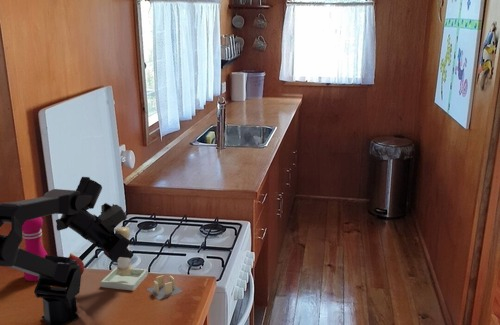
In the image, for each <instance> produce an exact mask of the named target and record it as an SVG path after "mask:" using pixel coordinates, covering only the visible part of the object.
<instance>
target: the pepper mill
mask: <svg viewBox="0 0 500 325" xmlns="http://www.w3.org/2000/svg"><path fill="white" fill-rule="evenodd" d="M43 224H44V219H43V217H39V218H35V219H31V220H27V221H25V222H24V224H23V226H22V237H23V239H24V243H25V244H24V246H25V248H24V250H25V251H28V252H30V253H33V254H35V255H38V256H41V257H43V258H45V255H48V253H47V251H46V249H45V248H44V246H43V244H42V240H41V236H43V232H42V231H43V230H42V228H43ZM23 278H24V280H25V281H29V282H38V276H35V275H32V274H29V273H25V272H23Z"/></svg>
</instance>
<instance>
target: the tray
mask: <svg viewBox="0 0 500 325" xmlns="http://www.w3.org/2000/svg"><path fill="white" fill-rule="evenodd" d="M148 276H149V270H148V269H145V268H143V269H142V268H133V267H131V274H130V275H127V276H119V275H118V271H117V266H116V267H114V269H113V270H112V271H111V272H109V273H108V274H107V275H106V276H105V277H104V278H103V279H102V280H101V281H100V287H101V288H106V289H107V288H108V289H115V290H116V289H117V290H124V291H125V290H126V291H133V292H134V291H135V290H136V289H137V288H138V287H139V286H140V285H141V283H142V282H143V281H144V280H145V279H146V278H147V277H148Z"/></svg>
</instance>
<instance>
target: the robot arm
mask: <svg viewBox="0 0 500 325" xmlns="http://www.w3.org/2000/svg"><path fill="white" fill-rule="evenodd" d="M102 190H103V186H102V184H100V182H99V183H98V182H97V181H95V180H93V179H91V178H90V177H89V176H81V178H80V180H79V183H78V185H77V187H76V189H75V190H71V189H62V188H61V189H58V188H53V189H51V190H49V191H47V192H45V193H44V195H43V196H39V197H35V198H28V199H23V200H18V201H11V202H7V201H6V202H5V201H4V202H2V203H0V228H1V227H2V226H3V225H4V223H5V224H11V229H10V231H9V233H8V235H6V234H5V235H4V234H0V267H7V268H10V269H13V270H17V271H20V272H21V273H24V272H25V273H29V274H32V275H35V276H38V280H37V283H36V285H35V288H34V290H33V293H34V295H35V298H37V299H39V298H41V299H42V307H43V316H41V320H42V321H43V322H44V323H46V325H66V324H69V323H71V322H74V321H75V320H78V319H80V315H79V314H78V304H77V297H76V296H77V295H78V294H79V293H80V288H81V282H82V275H81V270H80V267H79V265H78V264H76V262H77V261H76V260H71V259H70V258H68V257H69V256H68V257H67V256H66V257H65V256H57V255H49V254H47V255H45V258H43V257H41V256H38V255H35V254H33V253H30V252H28V251H25V249H22V248H21V247H20V244H21V243H22V241H23V239H24V238H23V237H22V236H23V234H22V232H23V231H22V226H23V224H24V222H25V221H27V220H31V219H35V218H39V217H41V218H43V217H47V216H50V215H51V216H52V215H60V217H59V218H57V219H55V223H56V230H57V232H58V231H63V230H66V229H68V228H69V229H71V231H74V233H75V232H76V233H77V234H78V235H80V236H81V238H83V239H84V240H86V241H88V242H90V243H91V244H93V246H95V247H96V248H97V249H101V250H102V249H103V255H105V256H106V257H107V258H108V259H109V260H111V261H113V262H118V258H119V257H124V258H130V259H131V258H132V257H133V253H132V252H131V251H129V250H130V249H129V250H128V249H127V247H128V245H129V246H130V245H131V241H130V239H129V240H128V239H127V238H125V237H124V236H123V235H121V234H120V233H119V234H115V229H116V228H114V227H116V226H117V225H119V224H120V223H122V222H124V221H126V220H127V218H128V217H127V214H126V213H125V211H124V209H123V208H122V206H120V205H118V204H114V203H112V204H111V205H110V204H109V203H107V202H105V203H103V204H102V205H101V210H100V214H99V215H98V216H97V215H96V214H93V213H90V212H89V211H88V210H91V209H94V208H95V205H96V203H97V201H98V200H99V197H100V194H101V192H102Z"/></svg>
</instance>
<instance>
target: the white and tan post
mask: <svg viewBox="0 0 500 325" xmlns="http://www.w3.org/2000/svg"><path fill="white" fill-rule="evenodd" d="M114 229H115V230H114V234H119V233H120V234H121V235H123V236H124V237H125V238H127V239H128V240H129V241H130V237H131V236H130V228H129V227H127V226H121V227H116V228H114ZM127 249H128V250H129V251H130V250H131V249H130V244H129V245H128V247H127ZM130 252H131V251H130ZM116 267H117V271H118V275H119V276H127V275H130V274H131V268H132V264H131V258H124V257H119V258H118V260H117V266H116Z"/></svg>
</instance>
